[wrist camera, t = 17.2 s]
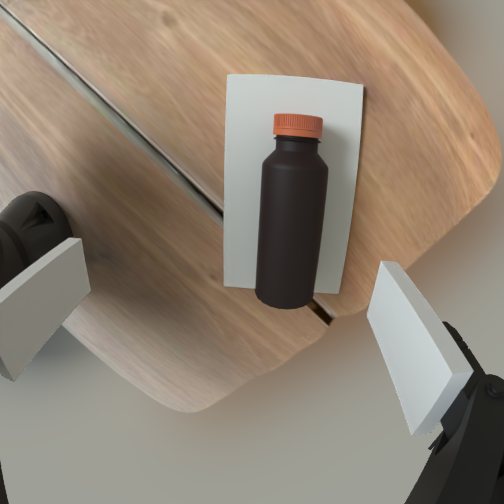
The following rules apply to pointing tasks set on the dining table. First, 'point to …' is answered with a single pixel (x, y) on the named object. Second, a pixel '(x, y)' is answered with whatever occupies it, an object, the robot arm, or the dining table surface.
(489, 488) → the robot arm
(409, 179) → the dining table surface
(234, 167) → the mat
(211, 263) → the dining table surface
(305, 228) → the vinegar
